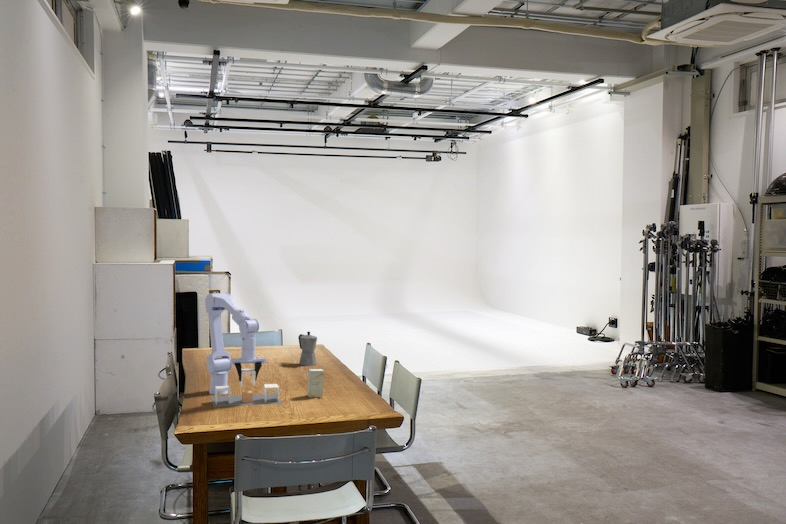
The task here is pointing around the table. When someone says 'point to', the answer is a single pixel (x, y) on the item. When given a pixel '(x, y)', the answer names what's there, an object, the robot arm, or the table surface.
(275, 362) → the table surface
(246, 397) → the cube
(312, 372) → the skincare box
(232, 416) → the table surface
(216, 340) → the robot arm
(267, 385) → the arch right
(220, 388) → the arch left
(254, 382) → the white u-channel shell
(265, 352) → the table surface
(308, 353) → the coffeepot
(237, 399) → the mat
